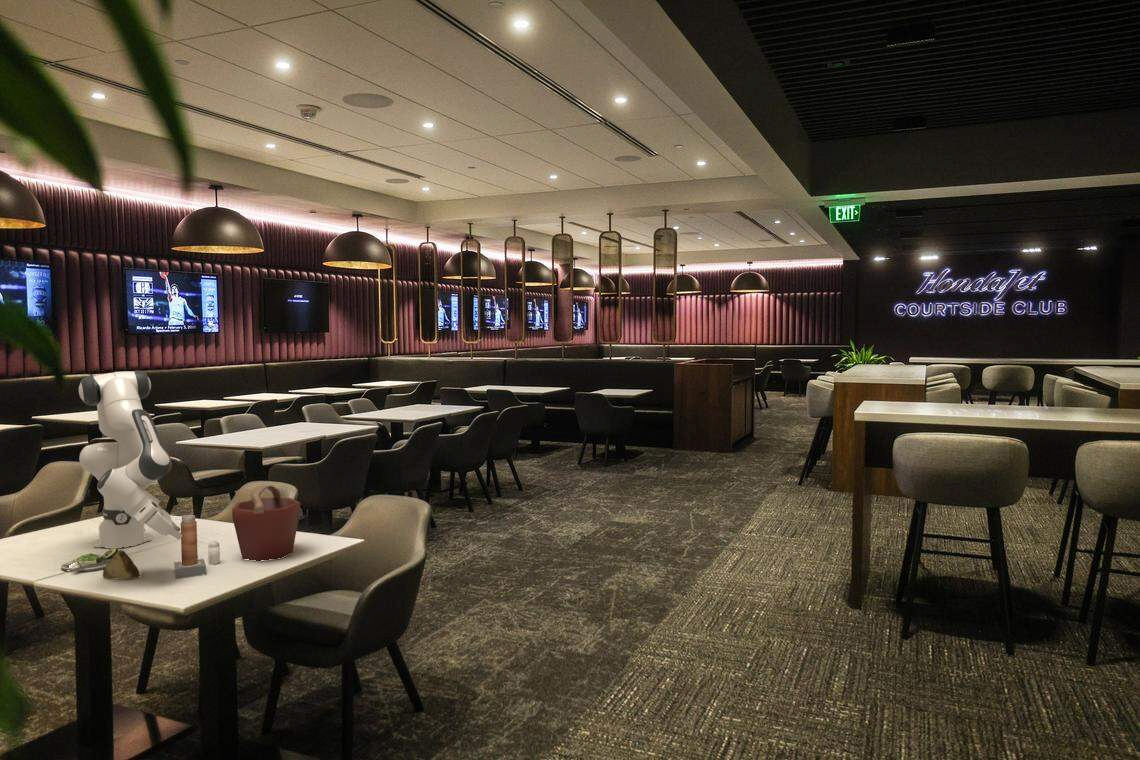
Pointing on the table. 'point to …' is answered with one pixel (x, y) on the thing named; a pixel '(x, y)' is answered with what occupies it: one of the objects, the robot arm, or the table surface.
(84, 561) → the plate of avocado toast
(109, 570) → the rock
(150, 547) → the table surface
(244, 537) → the bucket
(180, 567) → the plinth
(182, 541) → the pepper mill
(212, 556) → the salt shaker
